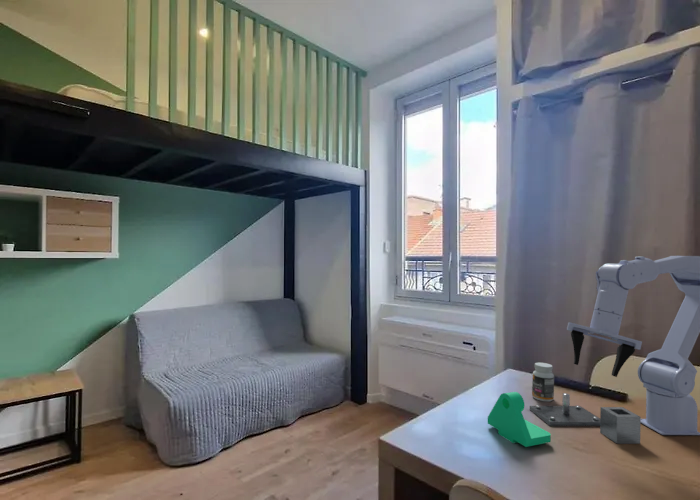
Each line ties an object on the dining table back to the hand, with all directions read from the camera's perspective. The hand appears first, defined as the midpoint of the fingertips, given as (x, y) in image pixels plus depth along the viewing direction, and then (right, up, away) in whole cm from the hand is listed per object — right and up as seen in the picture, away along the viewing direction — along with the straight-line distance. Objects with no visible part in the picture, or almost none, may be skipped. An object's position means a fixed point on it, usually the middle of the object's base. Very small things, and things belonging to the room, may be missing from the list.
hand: (594, 370), depth 89 cm
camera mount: (-18, -16, 0) cm, 24 cm away
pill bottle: (0, -16, +24) cm, 28 cm away
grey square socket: (+6, -16, 0) cm, 17 cm away
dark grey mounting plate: (-1, -15, +10) cm, 19 cm away
